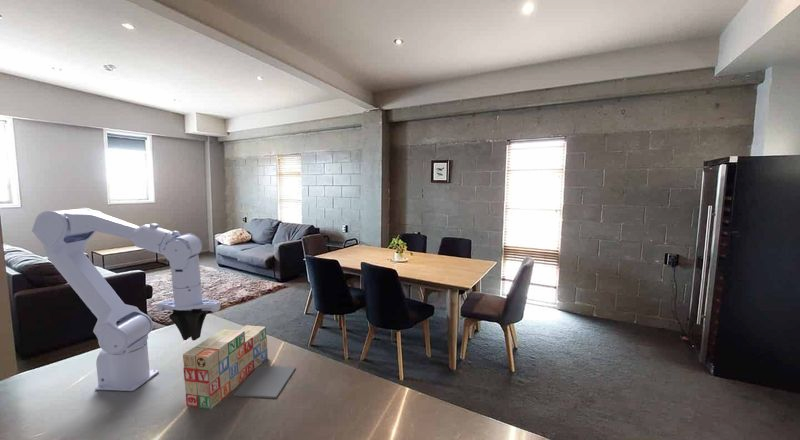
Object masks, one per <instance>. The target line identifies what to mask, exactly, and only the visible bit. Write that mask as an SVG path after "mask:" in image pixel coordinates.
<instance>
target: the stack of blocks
mask: <svg viewBox="0 0 800 440" xmlns="http://www.w3.org/2000/svg"><path fill="white" fill-rule="evenodd" d="M268 354H269V353H268V337H267V327H266V326H260V325H249V324H248V325H247V324H246V325H244V326H243V327H241V328H240V329H238V330H236V329H225V328H224V329H220V330H219V331H218V332H216V333H214V334H213V335H212V336H210V337H209V338H206V339H205V340H204V341H202V342H201V343H199V344H197V345H196V346H194V347H191V348H190V349H188V350H187V351H185V352H184V353H183V354H182V359H183V380H184V387H185V402H186V406H187V407H193V408H201V409H206V410H212V409H213V408H214V407H215V406H216V405H218V403H220V402H221V401H222V400H223V399H225V398H226V397H227V396H228V395H229V394H230V393H231V392H233V390H235V388H237V387H238V386H239V385H240V384H242V382H243V381H244V380H246V378H248V377H249V376H250V375H251V374H252V373H253V371H254V370H255V369H256V368H257V367H258V366H261V364H263V363H264V362H265V361H267V359H268Z"/></svg>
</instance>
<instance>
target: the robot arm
mask: <svg viewBox="0 0 800 440" xmlns="http://www.w3.org/2000/svg"><path fill="white" fill-rule="evenodd" d="M31 232H32V233H33V234H34V235H35V236H36V238H37V239H38V240H39V241H40V243H41V244H42V246H43V249H44V253H45V255H46V257H47V258H48V260H49V261H50V262H51V264H52V265H53V266H54V268H55V269H56V270H57V271H58V272H59V273H60V275H61V276H62V277H63V278H64V279H65V280H66V282H67V284H68V285H70V286H69V287H71V288H72V290H73V291H74V292H75V293H76V294H77V295H78V296H79V298H80V300H82V302H83V303H84V304H85V306H86V307H87V308H88V309H89V310H90V312H91V313H92V314H93V315H94V317H96V319H97V321H96V323H95V325H94V327H93V330H92V332H93V333H94V335H95V337H96V338H97V342H98V345H99V347H100V349H101V351H100V352H99V354H98V355H97V358H96V372H97V374H96V375H97V384H98V385H96V386H95V387H94V390H96V391H97V390H99V391H118V392H119V391H120V392H121V391H124V392H126V391H127V392H133V391H135V390H137V389H138V388H139V387H140V386H142V385H144V383H146V382H148V381H149V380H150V379H151V378H153V377H154V376H156V375H157V374H158V373H159V372H160V371H159V369H150V360H149V347H148V339H149V334H150V333H151V332H152V331H153V328H154V322H153V320H152V318H151V317H150V316H149V315H148V314H146V313H144V312H143V311H141V310H140V309H139V307H137V306H135V305H130V304H126V303H125V302H124V301H123V300H122V299H121V298H120V296H119V295H118V294H117V293H116V291H115V290H114V288H113V287H112V286H111V285H110V284H109V283H108V281H107V279H106V278H105V277H104V276H103V274H102V273H101V272H100V271H99V269H98V268H97V267H96V266H95V264H93V262H91V260H90V258H89V257H88V256H87V254H86V253H85V252H84V249H85V246H86V245H87V244H88V242H89V241H90V239H91V238H92V237H93V235H94V234H95V233H96V232H99V233H103V234H107V235H109V236H110V235H111V236H114V237H119V238H122V239H126V240H131V241H132V242H133V245H134V246H135V247H136V248H140V249H143V250H146V251H150V252H153V253H156V254H160V255H163V256H164V258H165V259H166V260H167V261H168V263H169V267H170V272H171V273H170V274H171V281H172V284H171V285H172V294H173V300H162V301H160V302H157V303H156V305H157V306H156V308H157V312H163V311H172V313H171V314H169V315H168V317H169V319H170V321H172V322H173V324H174V325H175V326H176V327H177V329H178V331H179V333H180V336H181V338H182V341H187V340H189V339H190V338H191V340H192V341H196V340H198V339H199V338H201V333H202V329H203V325H204V321H205V319H206V316H207V314H208V313H209V311H211V312H212V313H213V312H215V313H216V312H218V311H219V310H221V301H220V300H212V299H211V300H210V299H207V298H206V299H205V298H203V291H202V280H201V266H200V257H199V254H200V253H201V252H202V250H203V242H202V240H201V239H200V237H199V236H197V235H196V234H194V233H191V232H188V233H187V232H186V233H184V234H181V232H180V231H178V230H168V229H166V228H162V227H160V224H159V223H155V222H153V223H149V224H148V223H147V224H146V223H145V224H143V225H141V226H139V225H136V224H133V223H131V222H127V221H125V220H123V219H119V218H117V217H113V216H111V215H108V214H105V213H103V212H102V211H100V210H95V209H91V208H88V207H80V208H75V209H74V208H73V209H63V210H60V209H59V210H46V211H43V212H40V213H39V214H38V215H37V216H36V218H35V220H34V223H33V227H32V230H31ZM117 322H118V323H117Z"/></svg>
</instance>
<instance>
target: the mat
mask: <svg viewBox="0 0 800 440" xmlns="http://www.w3.org/2000/svg"><path fill="white" fill-rule="evenodd" d="M296 368H297V367H296V366H281V365H279V366H278V365H259V366H258V367H257V368H256V369H255V370H253V371H252V372H251V373H250V374H249V375H248V376H247V377H246V378H247V379H245V381H244V382H243V383H241V385H240V387H239V388H237V390H235V392H234V393H233V397H240V398H262V399H264V398H265V399H277V398H278V396H279V395H280V393H281V392H282V390H283V389H284V387H285V386H286V384H287V382H288V381H289V379H290V378H291V376H292V375H293V373H294V371H295V370H296Z"/></svg>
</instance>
